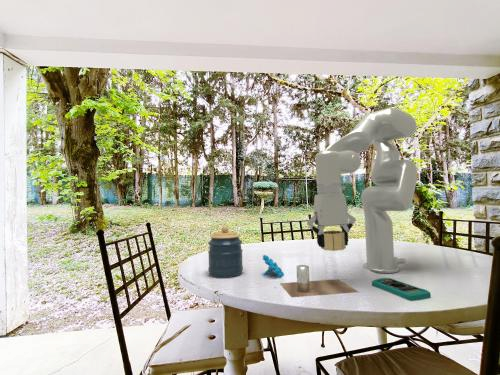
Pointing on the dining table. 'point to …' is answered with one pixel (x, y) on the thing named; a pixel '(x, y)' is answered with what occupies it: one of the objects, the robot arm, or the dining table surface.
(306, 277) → the piston post
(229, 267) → the canister
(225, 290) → the dining table surface
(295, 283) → the board
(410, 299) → the digital multimeter
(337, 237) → the ring
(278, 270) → the gear
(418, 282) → the dining table surface
